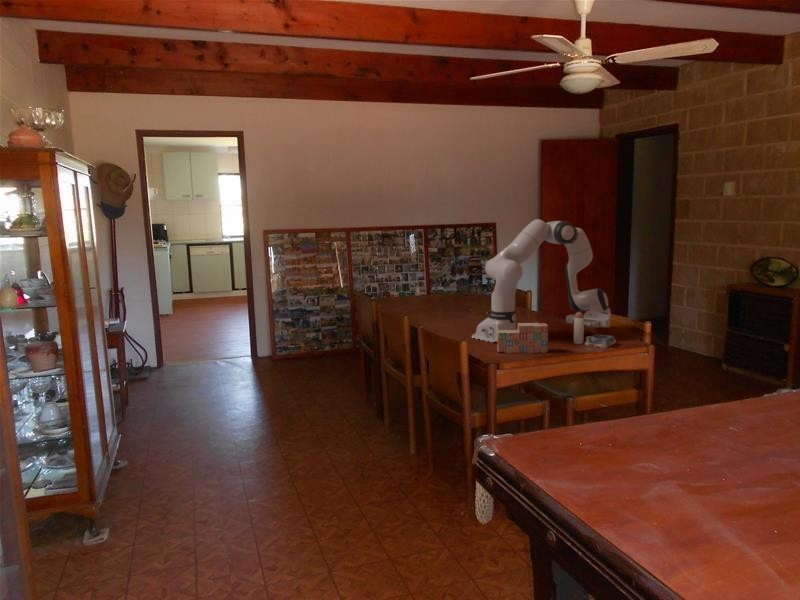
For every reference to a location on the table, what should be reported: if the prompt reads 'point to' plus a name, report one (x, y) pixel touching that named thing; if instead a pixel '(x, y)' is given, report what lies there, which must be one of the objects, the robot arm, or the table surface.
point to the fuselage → (578, 328)
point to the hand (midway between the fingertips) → (582, 323)
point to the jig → (600, 340)
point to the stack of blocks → (524, 339)
